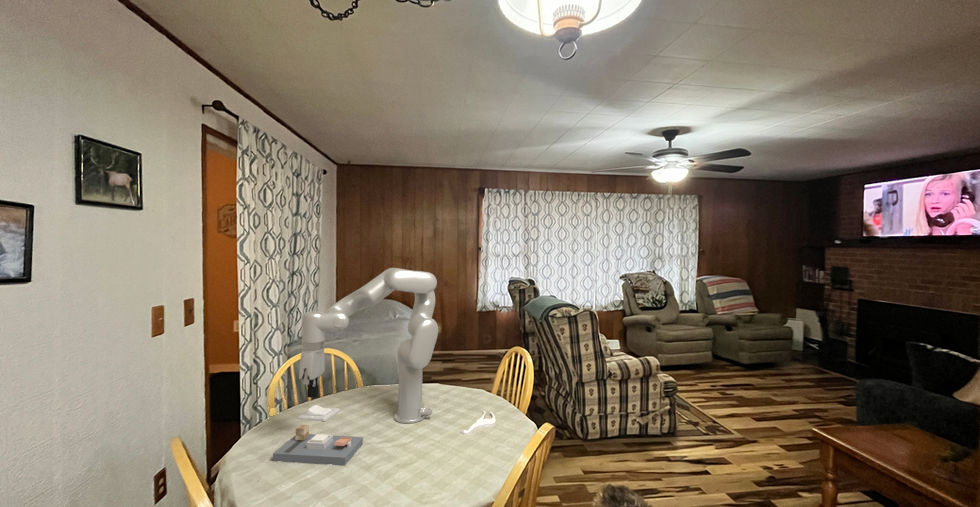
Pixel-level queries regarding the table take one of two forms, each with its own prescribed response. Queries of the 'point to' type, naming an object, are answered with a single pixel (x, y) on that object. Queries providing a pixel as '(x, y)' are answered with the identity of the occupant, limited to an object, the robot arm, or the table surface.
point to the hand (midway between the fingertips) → (312, 396)
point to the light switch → (319, 413)
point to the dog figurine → (480, 424)
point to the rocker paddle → (343, 441)
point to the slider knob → (302, 432)
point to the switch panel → (318, 450)
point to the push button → (320, 438)
